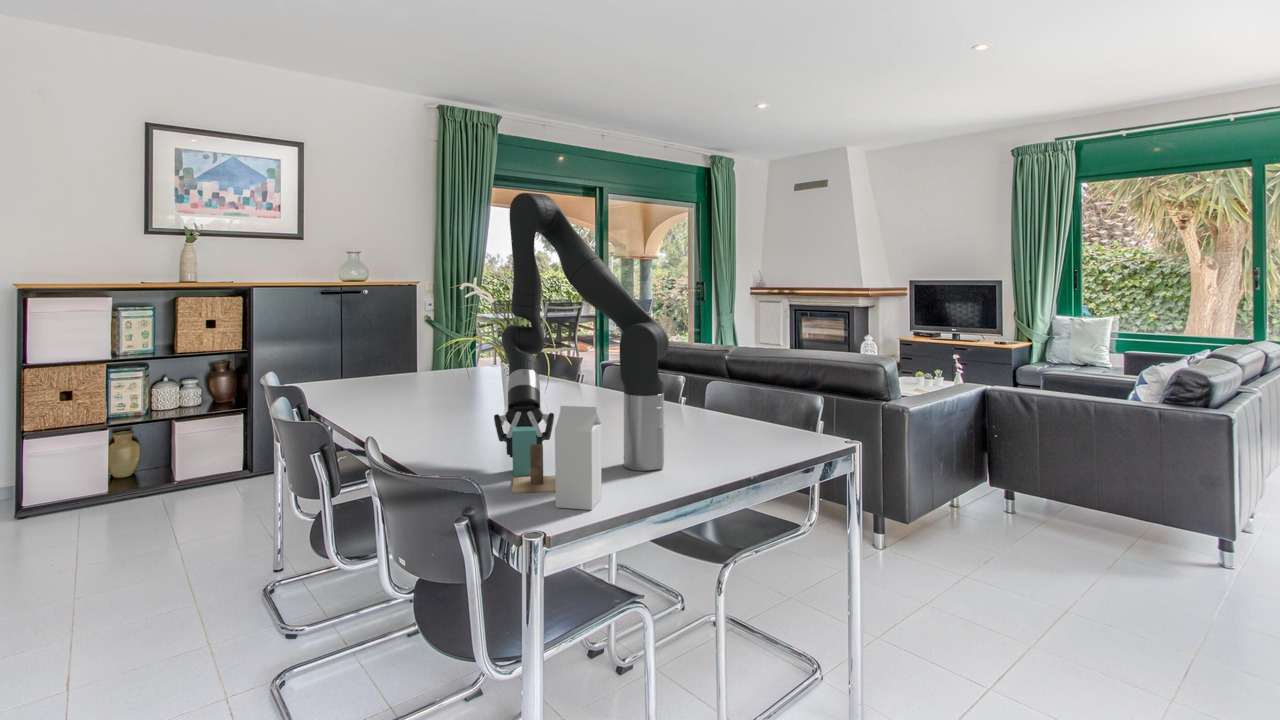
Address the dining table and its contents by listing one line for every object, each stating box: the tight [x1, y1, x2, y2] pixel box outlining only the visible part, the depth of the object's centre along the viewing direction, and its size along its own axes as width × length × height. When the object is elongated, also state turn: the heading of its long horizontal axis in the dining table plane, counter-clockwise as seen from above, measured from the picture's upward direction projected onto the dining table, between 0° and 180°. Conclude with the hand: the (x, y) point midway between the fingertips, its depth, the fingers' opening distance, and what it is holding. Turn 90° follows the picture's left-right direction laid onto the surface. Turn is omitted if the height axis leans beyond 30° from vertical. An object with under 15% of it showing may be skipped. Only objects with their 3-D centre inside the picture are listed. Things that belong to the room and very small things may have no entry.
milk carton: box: [554, 404, 603, 511], centre depth 127 cm, size 7×7×19 cm
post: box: [512, 443, 556, 494], centre depth 140 cm, size 10×10×8 cm
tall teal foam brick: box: [512, 426, 536, 477], centre depth 149 cm, size 5×5×10 cm
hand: (524, 454), depth 147 cm, fingers closed on tall teal foam brick, 5 cm apart
